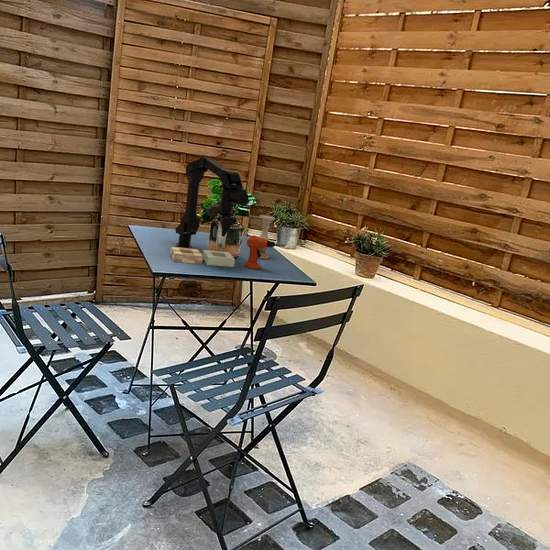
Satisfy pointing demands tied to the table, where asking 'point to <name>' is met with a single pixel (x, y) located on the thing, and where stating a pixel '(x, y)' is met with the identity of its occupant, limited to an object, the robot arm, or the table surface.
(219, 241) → the silver flared cylinder
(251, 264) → the toy drill
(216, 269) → the table surface
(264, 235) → the candle holder
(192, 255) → the socket block
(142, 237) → the table surface
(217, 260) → the square block with hole
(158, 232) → the table surface
